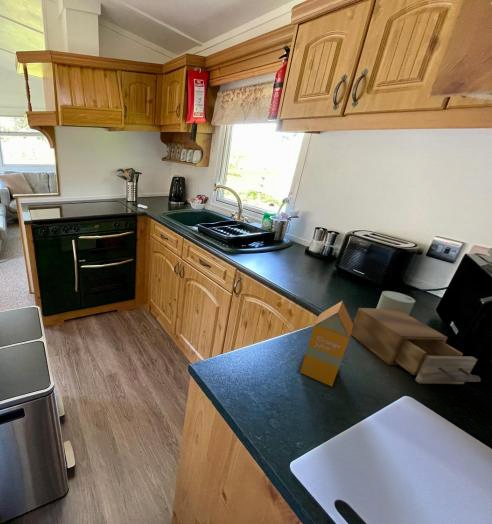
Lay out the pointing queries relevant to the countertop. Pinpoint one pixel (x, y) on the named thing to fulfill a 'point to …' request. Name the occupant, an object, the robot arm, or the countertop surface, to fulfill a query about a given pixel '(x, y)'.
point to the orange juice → (327, 344)
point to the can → (396, 301)
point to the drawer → (435, 362)
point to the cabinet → (389, 331)
